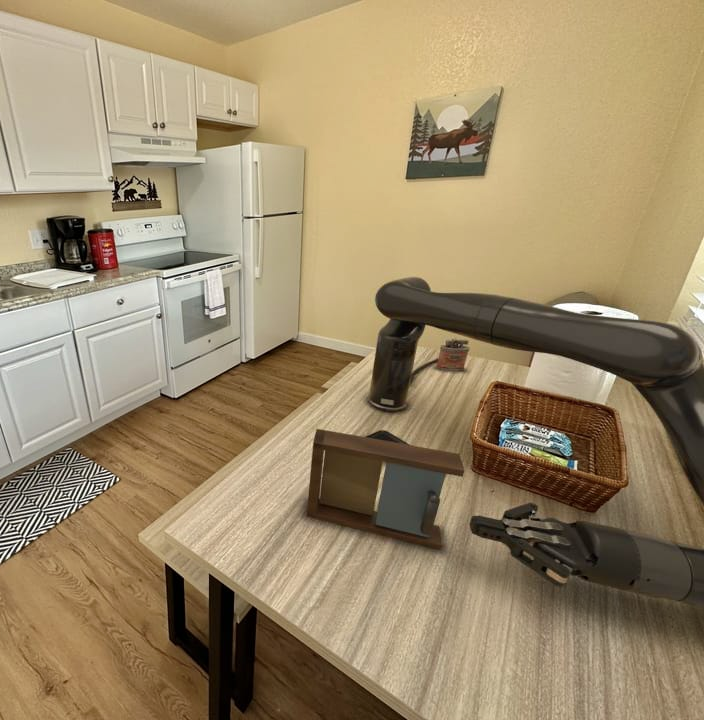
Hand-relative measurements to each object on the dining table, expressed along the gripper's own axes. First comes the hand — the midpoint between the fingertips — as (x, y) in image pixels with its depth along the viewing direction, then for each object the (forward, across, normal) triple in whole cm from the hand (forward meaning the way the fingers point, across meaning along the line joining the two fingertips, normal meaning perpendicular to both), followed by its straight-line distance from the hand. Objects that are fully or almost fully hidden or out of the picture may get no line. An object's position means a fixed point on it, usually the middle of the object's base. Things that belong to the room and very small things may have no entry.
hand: (471, 524), depth 56 cm
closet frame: (+12, -3, +8) cm, 15 cm away
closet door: (+8, -1, +6) cm, 11 cm away
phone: (+8, -24, +8) cm, 27 cm away
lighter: (-10, -75, +8) cm, 76 cm away
